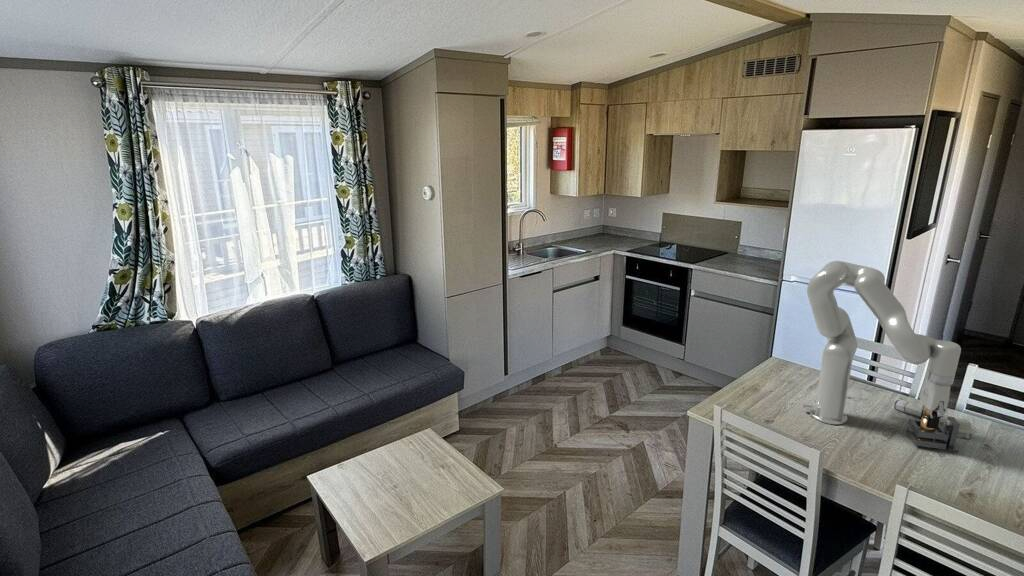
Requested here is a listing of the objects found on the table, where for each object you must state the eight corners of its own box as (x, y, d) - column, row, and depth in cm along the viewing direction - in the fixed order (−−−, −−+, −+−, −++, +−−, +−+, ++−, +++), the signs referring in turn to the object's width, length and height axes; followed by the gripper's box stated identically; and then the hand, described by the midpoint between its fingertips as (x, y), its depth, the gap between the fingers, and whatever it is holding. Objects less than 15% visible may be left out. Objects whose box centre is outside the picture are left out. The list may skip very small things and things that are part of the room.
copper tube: (920, 441, 188) (928, 406, 184) (915, 434, 192) (923, 400, 188) (935, 443, 187) (943, 407, 183) (929, 436, 191) (938, 401, 187)
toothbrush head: (900, 397, 213) (977, 418, 191) (900, 413, 214) (976, 436, 192) (893, 401, 210) (970, 422, 188) (892, 417, 212) (969, 440, 190)
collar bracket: (905, 434, 195) (910, 409, 192) (947, 439, 191) (953, 414, 188) (914, 447, 187) (920, 422, 184) (958, 453, 183) (965, 427, 180)
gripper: (917, 364, 191) (907, 410, 196) (937, 386, 176) (925, 435, 181) (942, 367, 189) (931, 413, 194) (964, 389, 174) (952, 438, 179)
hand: (928, 423), depth 188 cm, fingers closed on copper tube, 4 cm apart
